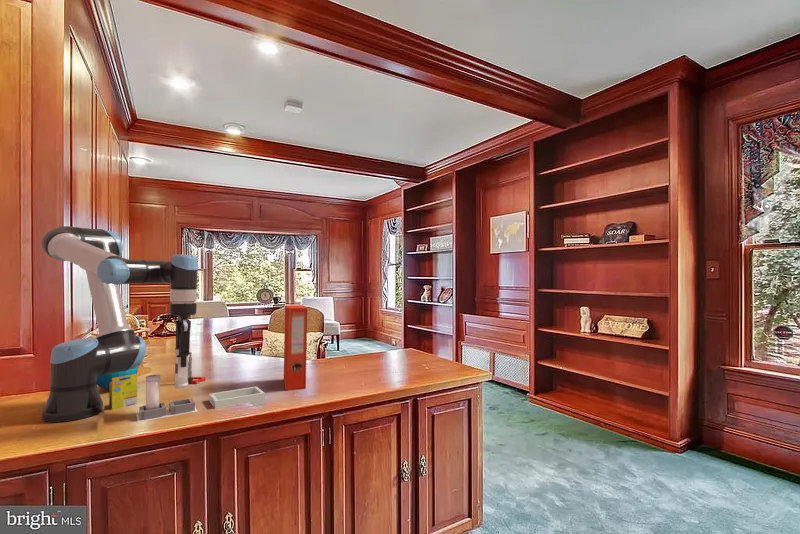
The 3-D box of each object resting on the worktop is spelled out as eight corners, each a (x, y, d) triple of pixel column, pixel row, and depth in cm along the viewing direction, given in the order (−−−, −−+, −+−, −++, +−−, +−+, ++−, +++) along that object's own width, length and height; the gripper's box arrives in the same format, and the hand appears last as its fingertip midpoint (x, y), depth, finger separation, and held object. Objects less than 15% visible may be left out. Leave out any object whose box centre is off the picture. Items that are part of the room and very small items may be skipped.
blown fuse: (175, 389, 124) (176, 350, 124) (173, 386, 127) (174, 348, 127) (188, 387, 126) (189, 349, 127) (187, 384, 130) (188, 347, 130)
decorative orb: (82, 391, 152) (83, 352, 152) (125, 382, 165) (125, 346, 166) (103, 396, 145) (104, 355, 145) (145, 386, 158) (146, 349, 159)
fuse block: (137, 427, 116) (137, 413, 116) (136, 419, 123) (136, 406, 123) (197, 415, 126) (198, 403, 126) (193, 409, 132) (193, 397, 132)
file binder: (302, 378, 173) (303, 304, 173) (306, 388, 156) (307, 307, 157) (283, 379, 170) (284, 305, 171) (285, 390, 154) (286, 308, 154)
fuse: (145, 418, 119) (146, 378, 119) (144, 414, 122) (145, 375, 122) (160, 415, 121) (160, 376, 122) (159, 412, 124) (159, 374, 125)
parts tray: (215, 413, 128) (215, 401, 128) (208, 405, 136) (209, 393, 136) (264, 403, 138) (264, 392, 138) (256, 396, 146) (256, 386, 146)
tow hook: (189, 379, 172) (177, 384, 162) (190, 349, 172) (179, 352, 163) (208, 379, 172) (198, 384, 163) (210, 349, 173) (199, 352, 163)
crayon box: (134, 406, 134) (135, 372, 135) (137, 408, 132) (138, 373, 133) (108, 412, 129) (109, 376, 129) (111, 414, 127) (112, 378, 127)
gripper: (201, 304, 123) (199, 379, 122) (192, 300, 136) (190, 368, 136) (173, 304, 118) (171, 383, 118) (167, 301, 132) (165, 371, 131)
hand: (181, 375), depth 127 cm, fingers closed on blown fuse, 4 cm apart
